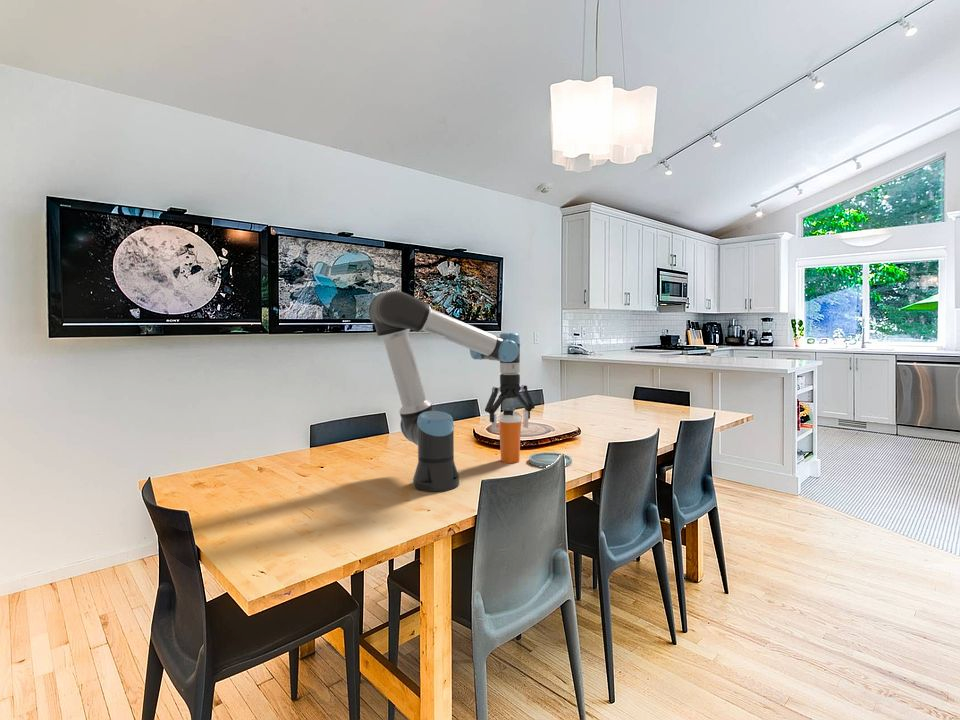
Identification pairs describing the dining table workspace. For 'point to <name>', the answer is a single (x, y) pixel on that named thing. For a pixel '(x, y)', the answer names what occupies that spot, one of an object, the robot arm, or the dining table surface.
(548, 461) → the saucer
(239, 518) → the dining table surface
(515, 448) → the shaker bottle
